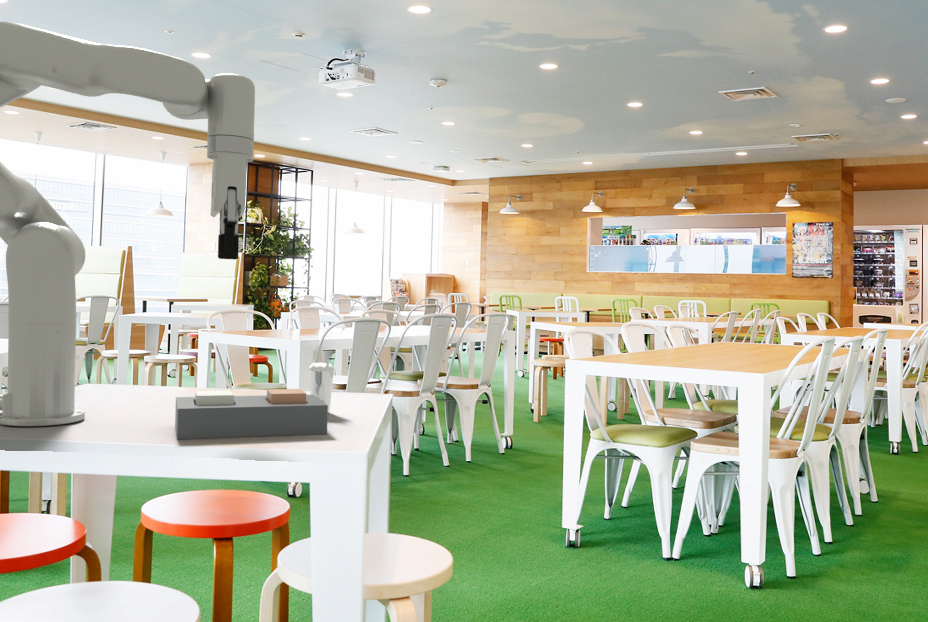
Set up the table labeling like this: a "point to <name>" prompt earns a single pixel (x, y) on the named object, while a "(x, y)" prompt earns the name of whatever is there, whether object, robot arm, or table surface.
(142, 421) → the table surface
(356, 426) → the table surface
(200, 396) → the white square block
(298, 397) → the clay key
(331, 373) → the milkshake
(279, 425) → the key panel
